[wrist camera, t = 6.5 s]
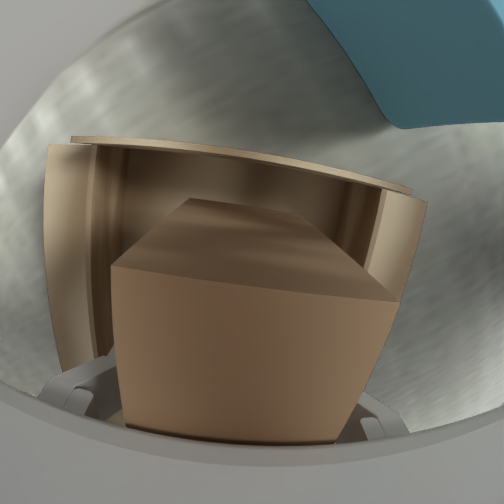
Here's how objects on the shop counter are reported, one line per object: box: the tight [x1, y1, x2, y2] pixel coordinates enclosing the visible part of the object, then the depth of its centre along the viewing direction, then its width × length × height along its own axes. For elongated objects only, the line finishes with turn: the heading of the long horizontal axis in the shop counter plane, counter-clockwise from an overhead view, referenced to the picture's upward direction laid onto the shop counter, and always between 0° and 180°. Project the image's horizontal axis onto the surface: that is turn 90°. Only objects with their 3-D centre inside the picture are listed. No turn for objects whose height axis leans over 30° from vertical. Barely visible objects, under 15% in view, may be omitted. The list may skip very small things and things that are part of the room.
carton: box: [43, 136, 428, 427], centre depth 15 cm, size 19×15×8 cm
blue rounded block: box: [307, 0, 504, 129], centre depth 9 cm, size 12×4×12 cm, turn 32°
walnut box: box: [111, 198, 401, 446], centre depth 9 cm, size 4×10×8 cm, turn 170°
